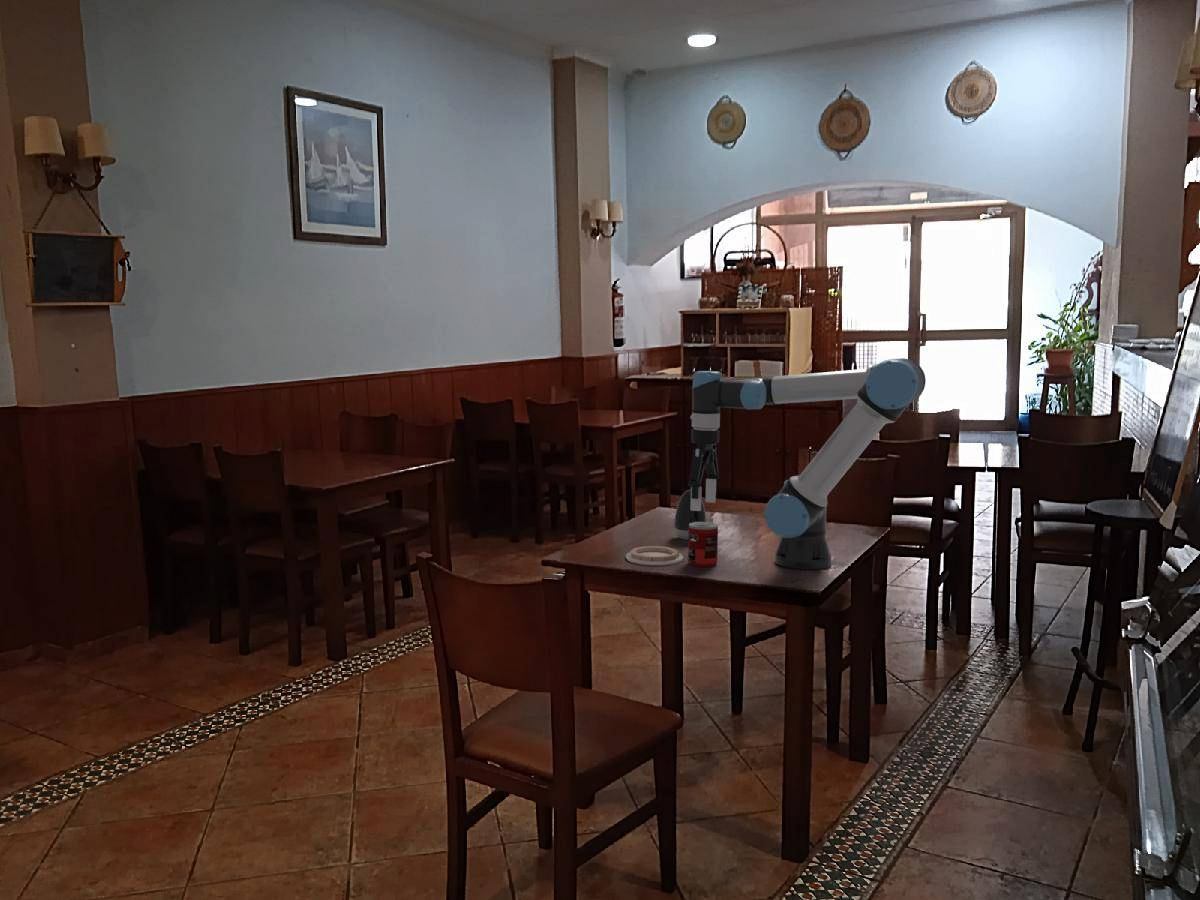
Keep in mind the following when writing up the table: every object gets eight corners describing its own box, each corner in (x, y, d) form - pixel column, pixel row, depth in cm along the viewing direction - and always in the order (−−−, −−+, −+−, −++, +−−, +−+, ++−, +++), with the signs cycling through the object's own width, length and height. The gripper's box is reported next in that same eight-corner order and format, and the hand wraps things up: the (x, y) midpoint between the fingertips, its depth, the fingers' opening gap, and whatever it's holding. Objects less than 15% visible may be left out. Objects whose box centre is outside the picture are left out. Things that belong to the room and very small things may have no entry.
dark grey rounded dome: (706, 535, 298) (707, 487, 296) (707, 542, 288) (708, 492, 286) (673, 534, 299) (674, 486, 297) (673, 541, 289) (673, 492, 287)
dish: (690, 555, 272) (690, 548, 271) (672, 568, 257) (672, 560, 257) (638, 549, 278) (638, 543, 278) (617, 562, 263) (617, 554, 263)
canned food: (689, 559, 266) (689, 521, 265) (717, 561, 265) (718, 522, 264) (686, 566, 259) (687, 526, 257) (716, 567, 257) (717, 527, 256)
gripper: (705, 423, 270) (703, 497, 273) (677, 432, 247) (675, 512, 250) (731, 425, 267) (729, 499, 270) (705, 434, 244) (702, 515, 247)
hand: (703, 506), depth 260 cm, fingers open, 13 cm apart
